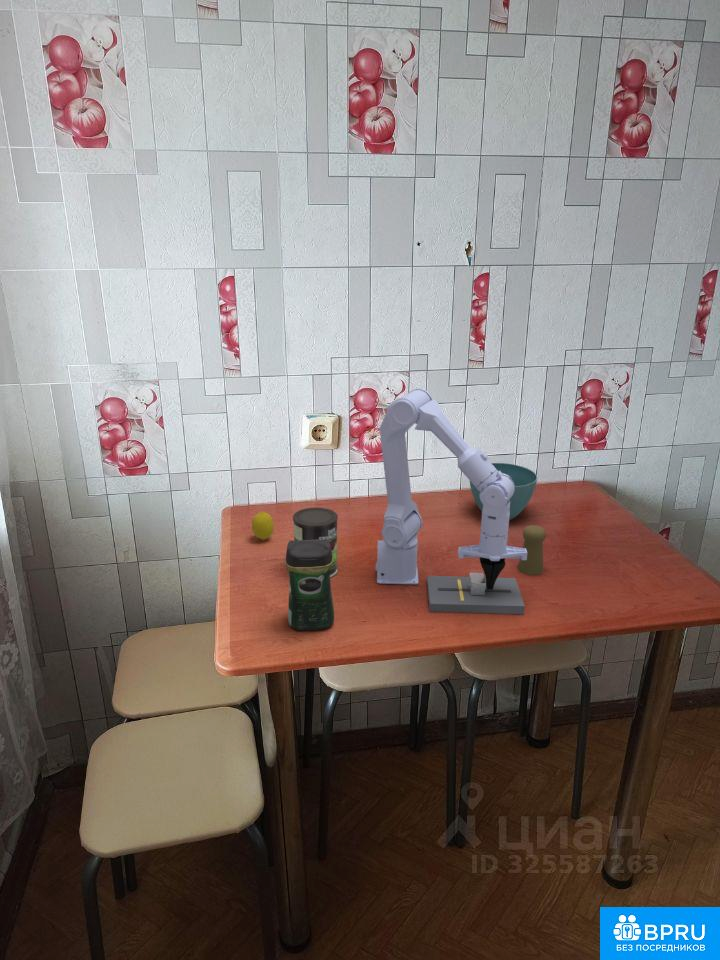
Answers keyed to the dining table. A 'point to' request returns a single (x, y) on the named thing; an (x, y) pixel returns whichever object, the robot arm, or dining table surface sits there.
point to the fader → (477, 583)
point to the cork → (533, 550)
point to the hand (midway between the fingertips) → (489, 586)
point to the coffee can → (317, 528)
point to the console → (473, 596)
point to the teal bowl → (523, 487)
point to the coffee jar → (309, 584)
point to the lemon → (262, 525)
